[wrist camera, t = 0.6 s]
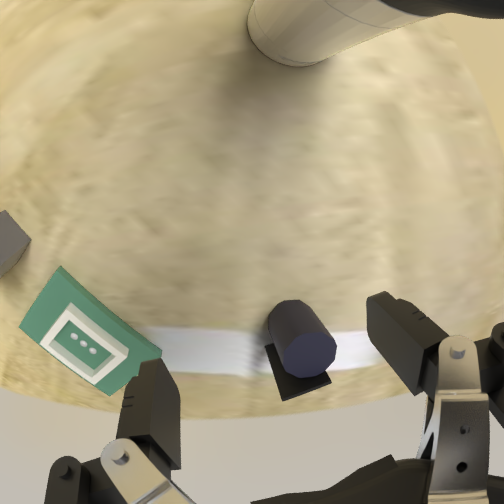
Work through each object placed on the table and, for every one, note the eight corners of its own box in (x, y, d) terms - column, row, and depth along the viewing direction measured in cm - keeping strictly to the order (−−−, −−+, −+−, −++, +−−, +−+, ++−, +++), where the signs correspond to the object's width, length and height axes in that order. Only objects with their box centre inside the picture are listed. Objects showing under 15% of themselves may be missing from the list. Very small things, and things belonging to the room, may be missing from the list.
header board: (22, 321, 30) (14, 333, 27) (60, 265, 28) (51, 276, 26) (110, 390, 36) (108, 404, 34) (161, 350, 35) (160, 365, 32)
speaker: (307, 346, 38) (333, 398, 28) (264, 348, 37) (280, 404, 27) (315, 294, 36) (349, 339, 26) (268, 295, 35) (289, 344, 25)
